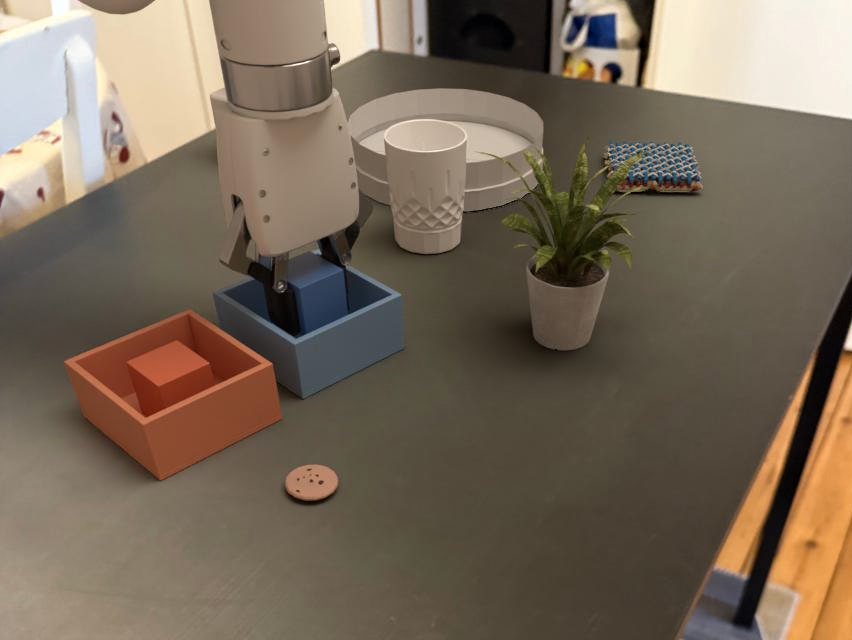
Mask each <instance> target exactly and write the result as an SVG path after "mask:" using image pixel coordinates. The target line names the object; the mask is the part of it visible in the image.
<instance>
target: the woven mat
mask: <svg viewBox="0 0 852 640" xmlns="http://www.w3.org/2000/svg"><path fill="white" fill-rule="evenodd" d="M613 143H614V142H613V140H609V144H608V145H606V146H604V150H605V151H606V152H603V154H602V155H603V156H602V159H603V158H605V159H604V164H605V166H607V165H609V164H611V163H613V162H614V161H615V162H614V163H613V164H611V165H610V166H609V167H608V168H607V169H608V174H607V176H606V177H607V179H608V178H609V177H610V176H611V175H612V173H613V172H614V171H615V170H616V169H617V168H618V167H619V166H620V165H621V164H622V163H624V162H625V161H626V160H627V159H629V158H630V157H632V156H634V155H636V154H639V153H642V152H645V151H648V152H646V153H645V154H644V155H643V156H642V157H641V158H640V159H639V160H638V161H637V162H636V163H635V164H634V165H633V166H632V167H631V168H630V170H629V172H628V174H627V176H626V178H625V180H624V181H623V183H622V184H621V185H620V186H619V187H618V188H617V189H616V190H632V189H634V188H637V187H650V188H646V189H642V190H647V191H648V190H649V191H655V190H658V191H663V190H664V191H690V192H692V191H693V192H699V191H701V190H702V189H703V187H704V186H703V184H701V182H700V180H701V179H702V176H701V175H702V172H700V171H699V169H700V166H698V165H699V163H698V161H697V156H696V155H694V154H693V153H694V152H695V150H694V149H693V148H694V147H693V146H691V147H690V144H689V143H686V144H684V145H682V142H681V141H678V142H677V146H676V143H671V144H670V145H669V144H668V142H667V141H664V143H663V144H662V143H657V144H655V143H654V141H650V144H648V142H646V143H645V142H644V143H643V144H641V141H637V142H636V144H635V143H634V142H630V143H629V145H628V144H627V140H623V141H622V145H621V142H616V143H615V145H614V144H613ZM604 164H603V165H604ZM640 185H643V186H640ZM670 186H673V187H670ZM658 191H657V192H658Z"/></svg>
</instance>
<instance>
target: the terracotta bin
mask: <svg viewBox="0 0 852 640" xmlns="http://www.w3.org/2000/svg"><path fill="white" fill-rule="evenodd" d="M176 340H178V341H179V342H180V343H182V344H183V345H185V346H186V347H188V348H189V349H190V350H192V351H193V352H195V353H196V354H198V355H199V356H200V357H202V358H203V359H205V360H206V361H208V362H209V363H210V367H211V371H212V375H213V379H214V383H215V386H213V387H211V388H209V389H207V390H205V391H202V392H200V393H198V394H196V395H194V396H192V397H190V398H187V399H185V400H183V401H181V402H179V403H177V404H175V405H173V406H170V407H168V408H166V409H164V410H162V411H160V412H158V413H155V414H153V415H151V416H149V417H147V416H146V415H145V414H144V413H142V411H141V408H140V405H139V402H138V399H137V395H136V392H135V389H134V386H133V383H132V379H131V376H130V373H129V370H128V367H127V364H126V362H127V361H130V360H132V359H134V358H137V357H139V356H141V355H144V354H146V353H148V352H151V351H153V350H155V349H157V348H160V347H162V346H164V345H167V344H169V343H171V342H174V341H176ZM63 364H64V366H65V368H66V372H67V374H68V377H69V380H70V382H71V386H72V388H73V390H74V394H75V396H76V399H77V401H78V404H79V406H80V409H81V412H82V415H83V417H84V418H85V419H86V420H87V421H89V423H91V424H92V425H94V426H95V427H96V428H97V429H98V430H99V431H101V432H102V433H103V434H104V435H105V436H106V437H108V438H109V439H110V440H112V441H113V442H114V443H115V444H116V445H117V446H119V447H120V448H121V449H122V450H123V451H125V452H126V453H127V454H128V455H129V456H130V457H132V459H134V460H135V461H136V462H138V463H139V464H140V465H141V466H142V467H144V468H145V469H146V470H147V471H148V472H150V473H151V474H152V475H153V476H154V477H155V478H156V479H158V480H159V481H163V480H165V479H166V478H169V477H171V476H173V475H175V474H177V473H178V472H180V471H182V470H184V469H186V468H188V467H191V466H192V465H194V464H197V463H198V462H201V461H202V460H204V459H206V458H208V457H210V456H212V455H214V454H216V453H218V452H220V451H222V450H224V449H226V448H228V447H229V446H231V445H234V444H236V443H238V442H239V441H240V442H241V440H244V439H246V438H247V437H249V436H251V435H253V434H255V433H257V432H259V431H262V430H263V429H265V428H267V427H269V426H271V425H273V424H276V423H277V422H279V421H281V420H283V414H282V409H281V402H280V397H279V391H278V386H277V385H278V384H277V381H276V380H275V374H274V368H273V364H272V363H271V362H269V361H268V360H266V359H265V358H263V357H262V356H260V355H259V354H257V353H256V352H254V351H253V350H251V349H250V348H248V347H247V346H245V345H244V344H242V343H241V342H239V341H238V340H236V339H235V338H233V337H232V336H230V335H229V334H227V333H226V332H224V331H223V330H221V329H220V327H218V326H216V325H215V324H214V323H212V322H211V321H209V320H207V319H206V318H205V317H203V316H201V315H200V314H198V313H197V312H196V311H194V310H192V309H191V308H188V309H185V310H184V311H181V312H179V313H177V314H174V315H172V316H170V317H167V318H165V319H162V320H159V321H157V322H155V323H152V324H150V325H148V326H146V327H143V328H140V329H138V330H136V331H133V332H131V333H129V334H126V335H123V336H121V337H119V338H117V339H114V340H110V341H109V342H107V343H104V344H102V345H100V346H97V347H95V348H92V349H90V350H87V351H85V352H82V353H80V354H78V355H76V356H73V357H71V358H67V359H66V360H64V361H63Z"/></svg>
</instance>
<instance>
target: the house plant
mask: <svg viewBox="0 0 852 640" xmlns="http://www.w3.org/2000/svg"><path fill="white" fill-rule="evenodd" d="M591 137H592V135H590V136H589V137H588V138H587V139H586V141H585V142H584V143H583V144H582V146H581V148H580V150H579V153H578V155H577V158H576V161H575V165H574V169H573V173H572V179H571V183H570V188H569V192H568V191H561V192H557V191H556V187H555V181H554V177H553V173H552V169H551V167H550V164H549V161H548V159H547V158H546V156H545V155H544V153H543V154H542V153H541V152H540V151H539V150H538V149H536V148H535V147H533V146H531V145H530V146H531V147H532V148H534V149H535V150H536V151H537V152H538V154H539V155H540V157H541V159H542V161H543V167H544V169H545V171H546V173H545V172H544V170H542V169H541V167H540V165H539V164H538V162H537V160H536V159H535V158H534V156H532V155H531V154H530V153H529V152H527V151H526V150H525V149H524V151H525V152H526V154H527V155H528V156H527V155H526V154H524V153H523V152H522V153H523V154H524V156H525V158H526V160H527V162H528V163H529V164H530V166H531V167H532V170H533V173H534V176H535V178H536V180H537V182H538V184H539V185H538V186H539V187H540V190H541V191H542V192H541V191H540V190H536V189H535V190H530V188H529V186H528V185H527V183H526V182H525V180H524V179H523V177H522V176H521V174H520V173H519V172H518V170H516V169H515V168H514V167H513V166H512V165H511V164H510V163H509V162H508V161H506V160H504V159H503V158H501V157H498V156H495V155H492V154H489V153H484V152H477V153H482V154H486V155H489V156H492V157H495V158H497V159H499V160H501V161H503V162H504V163H506V164H507V165H509V166H510V167H511V168H512V169H513V170H514V171H515V172H516V173H517V175H518V176H519V177H520V179H521V180H522V182H523V183H524V185H525V186H526V188H527V189H520V190H516V191H514V192H513V193H516V192H520V191H526V190H528V191H529V193H530V196H531V198H532V199H533V201H534V203H535V205H536V206H537V208H538V209H539V212H540V213H541V215H542V217H543V218H544V221H545V223H546V225H547V227H548V230H549V231H550V235H551V237H552V241H553V245H554V247H553V245H552V243H551V241H550V239H549V236H548V233H547V231H546V229H545V226H544V225H543V223H542V221H541V218H540V216H539V215H538V212H537V211H536V209H535V208H534V207H533V205H532V204H531V203H530V202H529V201H527V200H526V199H524V198H522V199H521V198H515V199H519V200H518V201H519V202H521V203H522V204H523V205H524V206H525V207H526V209H527V210H528V211H529V213H530V214H531V216H532V217H533V219H534V221H535V223H536V225H537V226H536V225H535V224H534V223H533V222H532V221H530V220H529V218H527V217H526V216H524V215H522V214H519V213H511V214H509V215H507V216H505V217H504V218H503V219H502V220H501V222H500V223H499V225H500V224H503V226H507V227H511V228H508V229H507V230H506V231H505V232H509V231H510V232H518V233H523V234H528V235H531V237H533V238H534V240H535V241H536V242H537V243H538V246H539V248H537V247H536V246H533V245H530V244H527V243H519V244H516V245H515V246H514V247H512V248H513V249H515V248H520V247H525V246H526V247H527V246H528V247H530V248H532V250H534V251H535V254H534V255H533V256H532V257H530V258H529V259H528V261H527V263H526V264H525V265H526V266H525V270H526V271H525V273H526V280H527V289H528V298H529V299H528V300H529V309H530V316H531V318H530V319H531V326H532V327H531V328H532V335H533V338H534V340H535V341H536V343H538V344H539V345H541V346H543V347H545V348H548V349H551V350H555V349H557V351H572V350H577V349H580V348H582V347H584V346H586V345H587V344H588V343H589V342H590V341H591V337H592V334H593V331H594V327H595V324H596V321H597V317H598V314H599V311H600V307H601V303H602V300H603V296H604V293H605V290H606V287H607V283H608V279H609V276H610V275H611V271H610V269H611V264H612V261H613V260H612V258H611V256H610V253H609V251H608V249H610V250H611V251H612V252H614V253H615V254H616V255H618V256H619V257H620V258H622V259H623V260H624V261H625V262H626V263H627V265H628V266H629V270H630V271H632V258H633V255H632V253H631V250H630V249H629V247H628V246H626V245H625V244H623V243H620V242H617V241H610V240H611V239H612V238H613V237H614V236H616V235H618V234H627V235H629V236H630V237H631V238H632V239H633V240H634V241H636V239H635V237H634V236H633V235H632V233H631V231H630V229H629V228H628V227H626V226H625V225H622V224H621V223H622V222H623V221H626V219H624V218H621V216H636V215H637V213H627V212H612V213H605V212H606V211H607V210H608V209H609V208H610V207H611V206H612V205H614V204H615V203H616V202H618V201H619V200H620V199H622V198H624V197H625V196H627V195H628V194H631V192H634V191H638V190H642V189H646V188H649V189H650V187H637V188H634V189H632V190H630V191H628V192H624V194H622V195H621V196H620V197H618V198H617V199H616V200H615V201H613V202H612V203H611V204H610V205H609V206H608V207H607V208H605V209H604V207H605V206H606V205H607V203H608V201H609V200H610V198H611V197H612V196H613V194H614V193H616V192H617V191H616V189H617V188H618V187H619V186H620V185H621V184H622V183H623V181H624V180H625V178H626V176H627V174H628V172H629V170H630V168H631V167H632V166H633V165H634V164H635V163H636V162H637V161H638V160H639V159H640V158H641V157H642V156H643V155H644V154H645V153H646V152H648V151H645V152H642V153H639V154H636V155H634V156H632V157H630V158H629V159H627V160H626V161H625V162H624V163H622V164H621V165H620V166H619V167H618V168H617V169H616V170H615V171H614V172H613V173H612V175H611V176H610V177H609V178H608V177H607V179H606V180H605V181H604V183H602V185H601V186H600V187H599V188H598V190H597V192H596V193H595V194H594V195H593V196H592V200H591V202H590V204H586V205H584V201H585V195H586V190H587V188H588V186H589V185H590V183H591V182H593V180H594V179H595V178H597V177H598V176H599V175H600V174H602V173H603V172H604V171H606V170H607V169H609V168H608V167H609V166H610V165H611V164H613V163H614V162H615V161H614V162H613V163H611V164H609V165H607V166H606V167H602V168H601V169H599V170H598V171H597V172H596V173H595V174H594V175H593V176H591V178H590V179H589V180H588V178H589V166H588V157H587V156H588V155H587V153H586V148H587V146H588V143H589V140H590V138H591ZM474 152H475V151H474ZM513 193H511V194H513ZM535 196H536V197H537V199H538V200H539V201H540V203H541V204H542V206H543V208H544V210H545V211H546V214H547V216H548V219H549V221H548V219H547V217H546V215H545V213H544V210H543V209H542V207H541V205H540V204H539V202H538V200H537V199H536V197H535ZM507 199H514V197H511V198H507ZM507 199H505V200H507ZM586 208H588V210H586ZM603 209H604V210H603ZM585 210H586V211H585ZM602 210H603V211H602ZM606 219H608V220H606ZM604 220H605V222H604V223H603V224H601V225H600V226H599V227H597V228H596V229H595V230H593V229H594V228H595V226H596V225H597V224H598V223H600V222H602V221H604ZM627 221H628V222H629V220H627ZM549 222H550V223H549ZM550 225H551V226H550ZM592 230H593V231H592ZM505 232H504V233H505ZM604 247H606V248H608V249H602V248H604ZM601 249H602V250H601Z"/></svg>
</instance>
